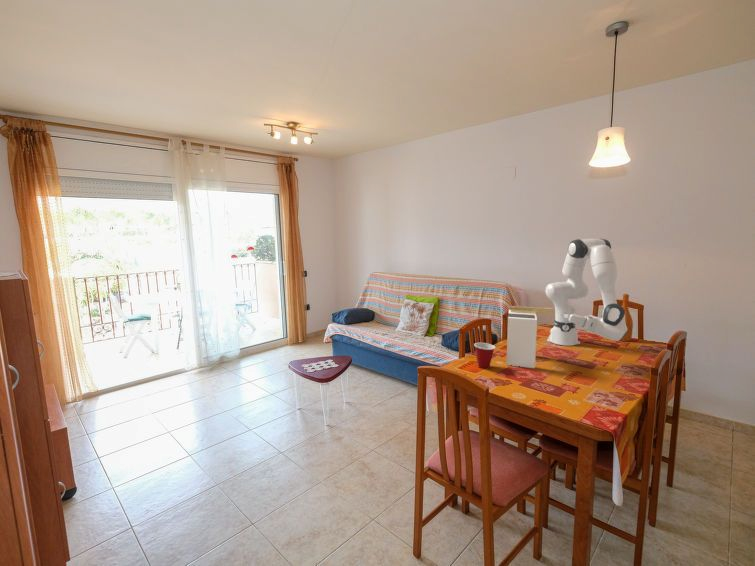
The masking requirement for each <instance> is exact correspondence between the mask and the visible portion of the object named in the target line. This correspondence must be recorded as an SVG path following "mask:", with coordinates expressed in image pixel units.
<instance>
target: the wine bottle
mask: <svg viewBox="0 0 755 566" xmlns="http://www.w3.org/2000/svg"><path fill="white" fill-rule="evenodd" d="M629 297H630V295H629V294H628V293H623V294H622V299H621V301H622V305H621V306H622V307H623V308H624V310H625V322H626V326H627V329H628V331H627V333H626V335H625V336H624V337H623V339H622V340H620V342H630V341H632V338H633V329H634V322H633V318H632V315H631V313H630V311H629V310H630V309H629V301H630V299H629Z"/></svg>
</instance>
